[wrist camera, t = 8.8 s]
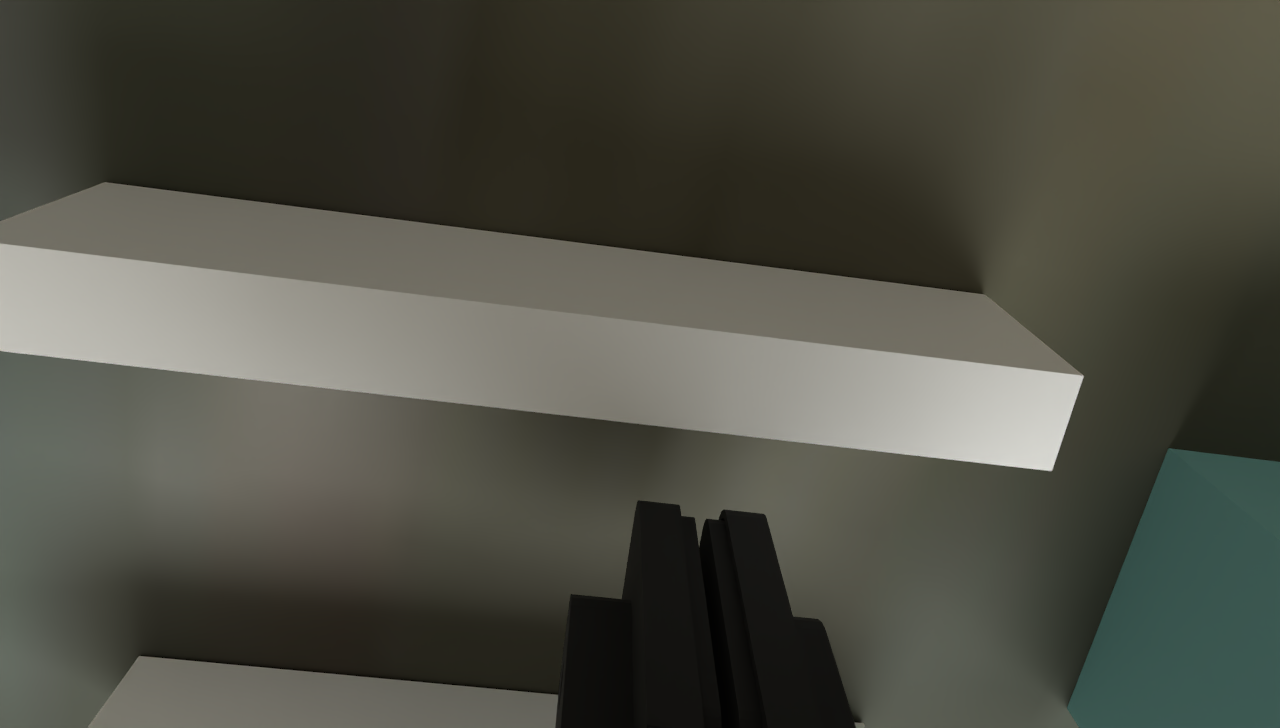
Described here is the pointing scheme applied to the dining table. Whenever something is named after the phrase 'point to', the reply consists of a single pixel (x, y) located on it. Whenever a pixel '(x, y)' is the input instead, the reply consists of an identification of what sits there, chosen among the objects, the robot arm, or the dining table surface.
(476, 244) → the channel
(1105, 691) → the teal block
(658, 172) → the dining table surface
